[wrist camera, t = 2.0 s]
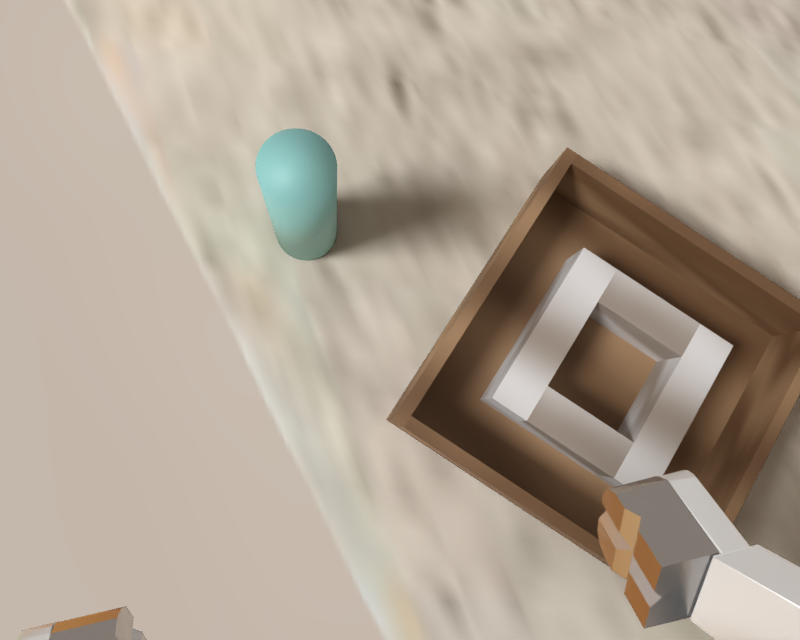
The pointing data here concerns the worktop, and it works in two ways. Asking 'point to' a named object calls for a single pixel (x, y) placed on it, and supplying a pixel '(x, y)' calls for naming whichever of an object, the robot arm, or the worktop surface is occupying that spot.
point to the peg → (300, 191)
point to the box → (606, 358)
